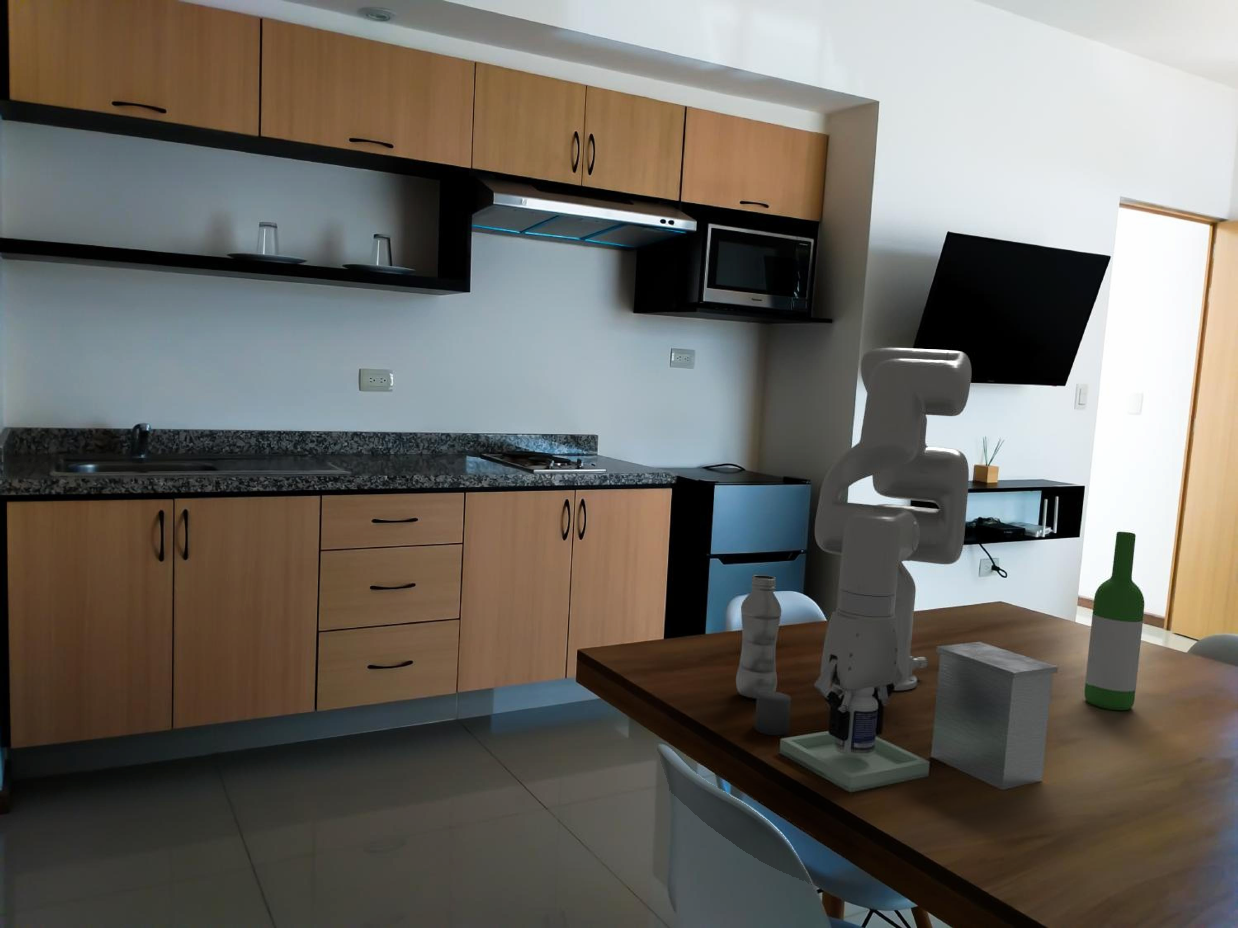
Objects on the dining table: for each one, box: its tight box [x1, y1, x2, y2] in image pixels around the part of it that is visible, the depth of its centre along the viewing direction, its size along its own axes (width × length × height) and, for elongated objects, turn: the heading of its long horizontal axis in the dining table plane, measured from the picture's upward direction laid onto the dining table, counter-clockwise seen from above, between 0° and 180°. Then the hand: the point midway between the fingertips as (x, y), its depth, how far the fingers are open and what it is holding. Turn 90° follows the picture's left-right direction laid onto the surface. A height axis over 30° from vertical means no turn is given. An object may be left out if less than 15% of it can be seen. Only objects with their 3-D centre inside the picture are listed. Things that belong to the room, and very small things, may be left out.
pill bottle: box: [834, 687, 878, 757], centre depth 131 cm, size 5×5×10 cm
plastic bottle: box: [735, 574, 782, 700], centre depth 157 cm, size 6×7×20 cm
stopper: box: [754, 691, 792, 736], centre depth 143 cm, size 5×5×5 cm
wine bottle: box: [1084, 531, 1145, 711], centre depth 165 cm, size 8×8×30 cm
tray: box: [779, 730, 931, 793], centre depth 131 cm, size 14×14×2 cm
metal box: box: [930, 641, 1059, 791], centre depth 132 cm, size 9×13×16 cm
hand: (855, 732), depth 131 cm, fingers closed on pill bottle, 5 cm apart
